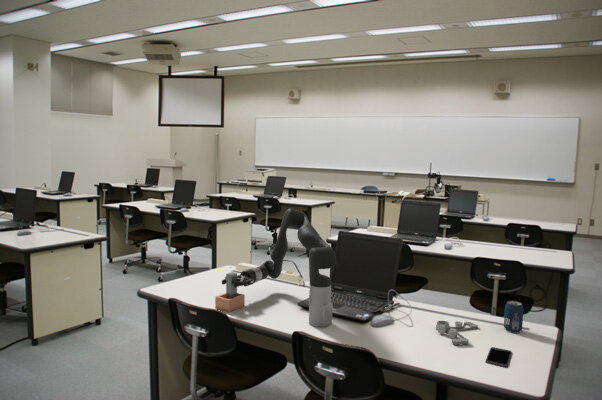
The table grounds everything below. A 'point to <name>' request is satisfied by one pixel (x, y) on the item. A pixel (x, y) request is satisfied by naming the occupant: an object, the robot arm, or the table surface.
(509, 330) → the soda can
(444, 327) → the pulley system
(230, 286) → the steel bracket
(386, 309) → the walkie-talkie
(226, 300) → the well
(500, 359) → the smartphone
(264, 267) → the robot arm
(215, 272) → the table surface
